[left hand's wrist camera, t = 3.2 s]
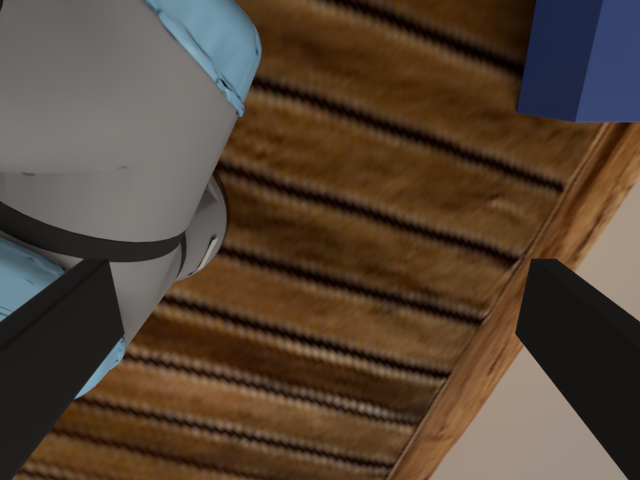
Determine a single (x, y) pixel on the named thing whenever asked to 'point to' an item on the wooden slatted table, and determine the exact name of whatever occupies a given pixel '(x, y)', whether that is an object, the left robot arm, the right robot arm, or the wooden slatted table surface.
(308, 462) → the wooden slatted table surface
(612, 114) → the bar
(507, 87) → the wooden slatted table surface
